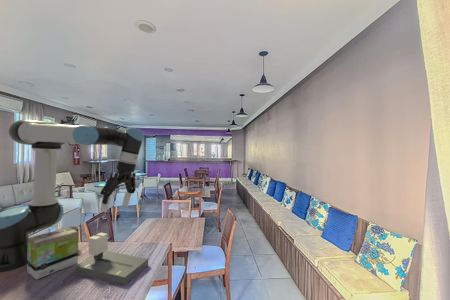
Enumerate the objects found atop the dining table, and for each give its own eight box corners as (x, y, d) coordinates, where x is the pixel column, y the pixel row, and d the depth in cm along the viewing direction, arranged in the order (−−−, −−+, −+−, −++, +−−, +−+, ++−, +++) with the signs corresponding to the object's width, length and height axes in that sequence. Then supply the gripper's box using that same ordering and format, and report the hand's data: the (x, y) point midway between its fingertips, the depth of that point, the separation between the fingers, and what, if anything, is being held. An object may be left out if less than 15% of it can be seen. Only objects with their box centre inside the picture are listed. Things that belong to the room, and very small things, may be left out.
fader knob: (88, 261, 92) (88, 237, 92) (100, 254, 98) (100, 232, 98) (96, 262, 91) (96, 238, 91) (107, 255, 97) (107, 233, 97)
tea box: (36, 281, 84) (36, 243, 84) (26, 272, 89) (26, 237, 89) (78, 263, 97) (78, 230, 96) (68, 257, 102) (68, 226, 102)
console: (75, 273, 89) (75, 265, 89) (103, 256, 103) (103, 250, 103) (124, 285, 82) (124, 277, 82) (148, 265, 95) (148, 258, 95)
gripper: (115, 162, 84) (100, 216, 82) (149, 165, 108) (138, 206, 107) (99, 158, 85) (84, 211, 84) (136, 161, 109) (125, 202, 108)
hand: (114, 208), depth 95 cm, fingers open, 13 cm apart
